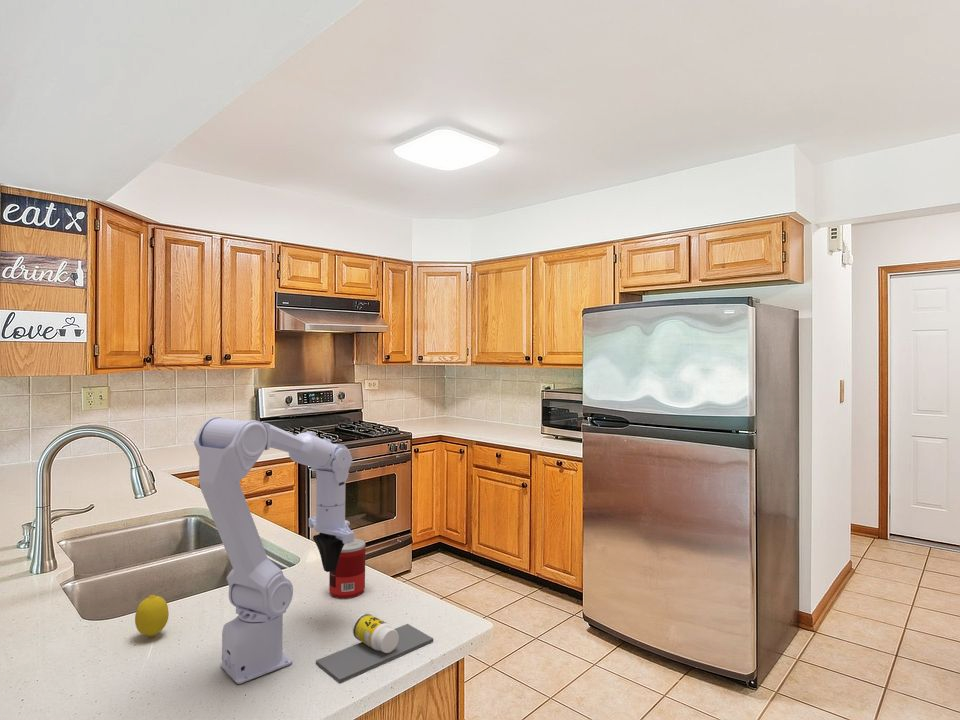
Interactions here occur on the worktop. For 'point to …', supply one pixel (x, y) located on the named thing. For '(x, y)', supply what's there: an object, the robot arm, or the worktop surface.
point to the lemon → (151, 615)
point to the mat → (370, 655)
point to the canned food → (349, 571)
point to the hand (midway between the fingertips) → (330, 570)
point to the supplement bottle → (375, 633)
